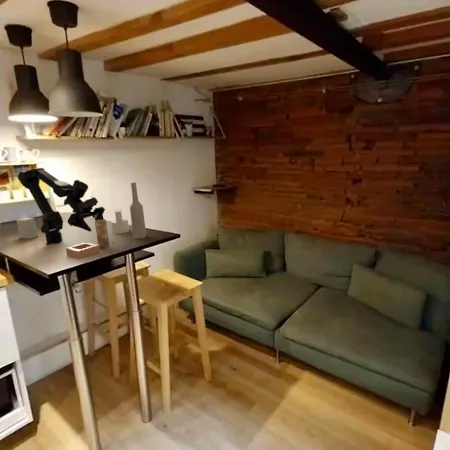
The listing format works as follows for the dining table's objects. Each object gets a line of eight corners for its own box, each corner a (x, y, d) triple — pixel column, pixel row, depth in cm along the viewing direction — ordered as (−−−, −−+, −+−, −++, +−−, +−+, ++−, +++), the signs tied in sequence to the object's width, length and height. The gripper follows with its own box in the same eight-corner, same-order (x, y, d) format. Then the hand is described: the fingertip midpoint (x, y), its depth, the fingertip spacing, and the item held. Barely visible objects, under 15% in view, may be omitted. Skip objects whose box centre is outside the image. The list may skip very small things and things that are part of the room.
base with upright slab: (129, 232, 185) (126, 211, 182) (112, 234, 182) (109, 212, 180) (128, 228, 193) (126, 208, 190) (112, 230, 191) (109, 210, 188)
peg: (97, 249, 155) (93, 222, 152) (99, 246, 160) (95, 220, 157) (109, 248, 156) (105, 221, 153) (110, 245, 161) (106, 219, 158)
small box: (38, 236, 188) (35, 217, 185) (29, 239, 183) (25, 220, 180) (29, 235, 191) (25, 217, 189) (19, 238, 186) (15, 219, 184)
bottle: (139, 234, 178) (133, 182, 172) (149, 235, 175) (143, 182, 168) (130, 238, 173) (123, 183, 166) (140, 239, 169) (133, 183, 163)
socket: (79, 259, 143) (77, 251, 142) (66, 255, 149) (65, 248, 148) (99, 252, 151) (98, 245, 150) (87, 249, 157) (86, 242, 156)
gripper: (67, 196, 147) (90, 221, 145) (99, 190, 164) (119, 212, 161) (58, 213, 152) (79, 238, 150) (89, 205, 169) (109, 227, 167)
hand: (98, 228), depth 157 cm, fingers open, 9 cm apart
